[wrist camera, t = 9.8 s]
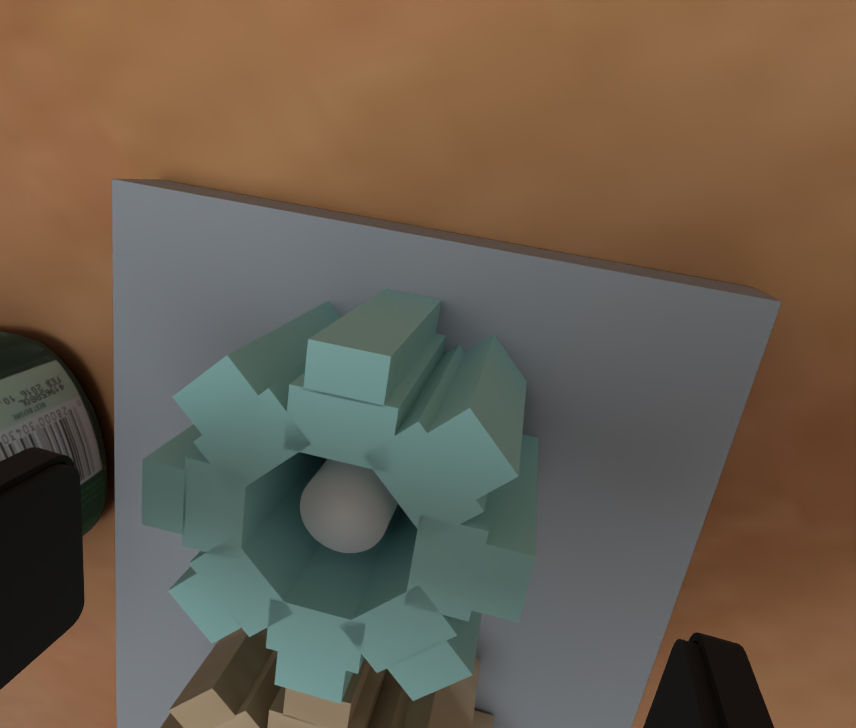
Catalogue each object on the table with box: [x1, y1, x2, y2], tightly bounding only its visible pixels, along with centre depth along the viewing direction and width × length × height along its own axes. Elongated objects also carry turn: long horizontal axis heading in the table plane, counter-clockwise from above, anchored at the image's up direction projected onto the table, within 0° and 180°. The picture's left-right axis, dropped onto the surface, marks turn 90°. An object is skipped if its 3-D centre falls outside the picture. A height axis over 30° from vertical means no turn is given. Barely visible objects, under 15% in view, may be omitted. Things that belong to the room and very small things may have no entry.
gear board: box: [112, 179, 782, 728], centre depth 16 cm, size 16×19×6 cm
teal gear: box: [142, 289, 538, 704], centre depth 13 cm, size 7×7×5 cm
